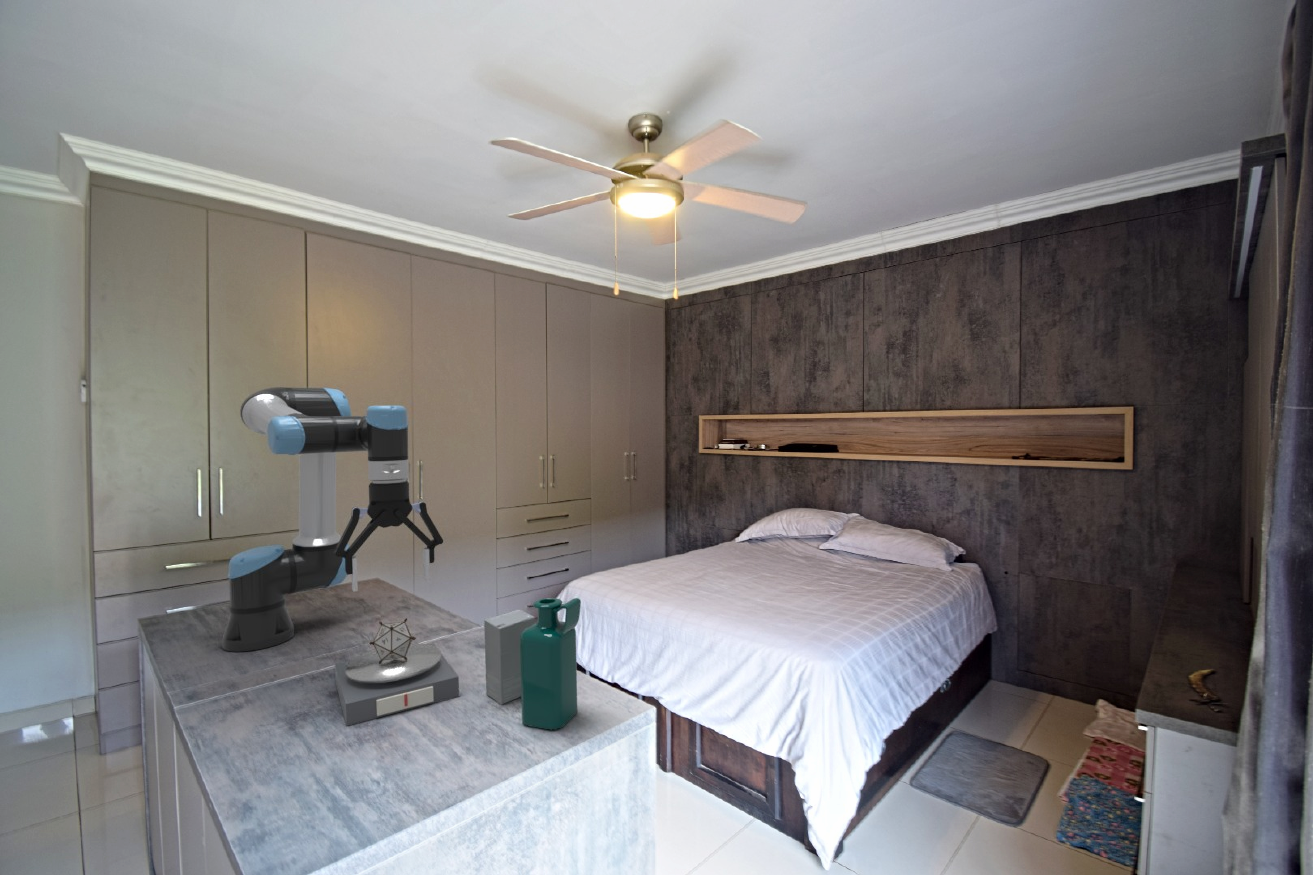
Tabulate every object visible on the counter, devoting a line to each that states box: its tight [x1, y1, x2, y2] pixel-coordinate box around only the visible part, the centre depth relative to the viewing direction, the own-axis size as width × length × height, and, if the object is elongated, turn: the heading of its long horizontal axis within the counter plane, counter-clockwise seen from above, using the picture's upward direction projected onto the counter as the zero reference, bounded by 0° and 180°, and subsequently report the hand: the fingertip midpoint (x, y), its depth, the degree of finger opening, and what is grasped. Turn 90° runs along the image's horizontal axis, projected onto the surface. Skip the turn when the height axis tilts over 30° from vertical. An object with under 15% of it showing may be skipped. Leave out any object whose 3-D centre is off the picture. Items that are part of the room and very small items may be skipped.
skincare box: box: [483, 608, 536, 705], centre depth 118 cm, size 8×7×16 cm
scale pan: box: [345, 642, 442, 683], centre depth 121 cm, size 18×18×2 cm
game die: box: [369, 617, 417, 664], centre depth 121 cm, size 9×8×10 cm
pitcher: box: [520, 597, 582, 731], centre depth 108 cm, size 10×8×22 cm
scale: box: [334, 642, 460, 727], centre depth 121 cm, size 23×20×4 cm
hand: (391, 584), depth 121 cm, fingers open, 13 cm apart
